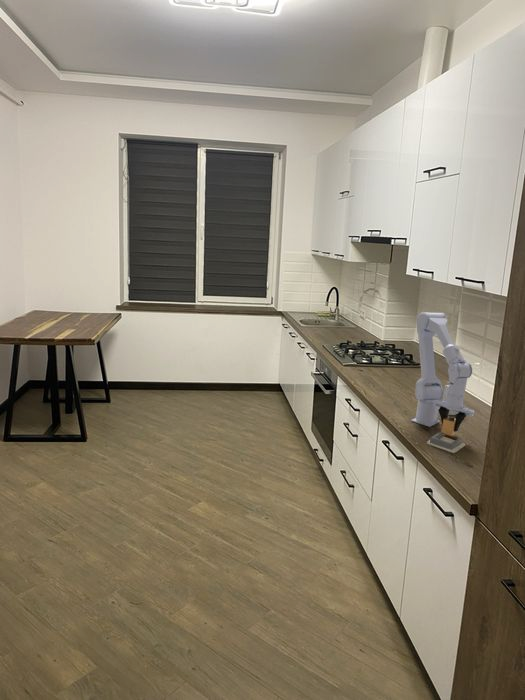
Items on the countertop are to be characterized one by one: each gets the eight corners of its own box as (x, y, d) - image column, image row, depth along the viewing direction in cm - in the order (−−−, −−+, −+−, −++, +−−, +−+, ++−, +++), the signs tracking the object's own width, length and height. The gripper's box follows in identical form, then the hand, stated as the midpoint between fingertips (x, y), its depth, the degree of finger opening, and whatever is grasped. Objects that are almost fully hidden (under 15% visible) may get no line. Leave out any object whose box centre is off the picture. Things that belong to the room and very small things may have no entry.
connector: (449, 427, 196) (451, 413, 195) (459, 431, 194) (462, 416, 192) (441, 432, 191) (443, 417, 189) (451, 435, 188) (454, 420, 187)
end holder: (438, 437, 191) (439, 429, 190) (464, 445, 184) (466, 438, 184) (426, 443, 183) (427, 436, 183) (453, 453, 177) (455, 445, 176)
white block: (447, 415, 216) (452, 388, 213) (440, 412, 220) (444, 384, 217) (458, 414, 218) (463, 387, 215) (451, 411, 222) (455, 384, 219)
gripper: (432, 391, 190) (426, 425, 193) (471, 401, 180) (465, 437, 183) (440, 387, 195) (434, 421, 198) (478, 398, 186) (472, 433, 189)
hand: (449, 429), depth 191 cm, fingers closed on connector, 4 cm apart
